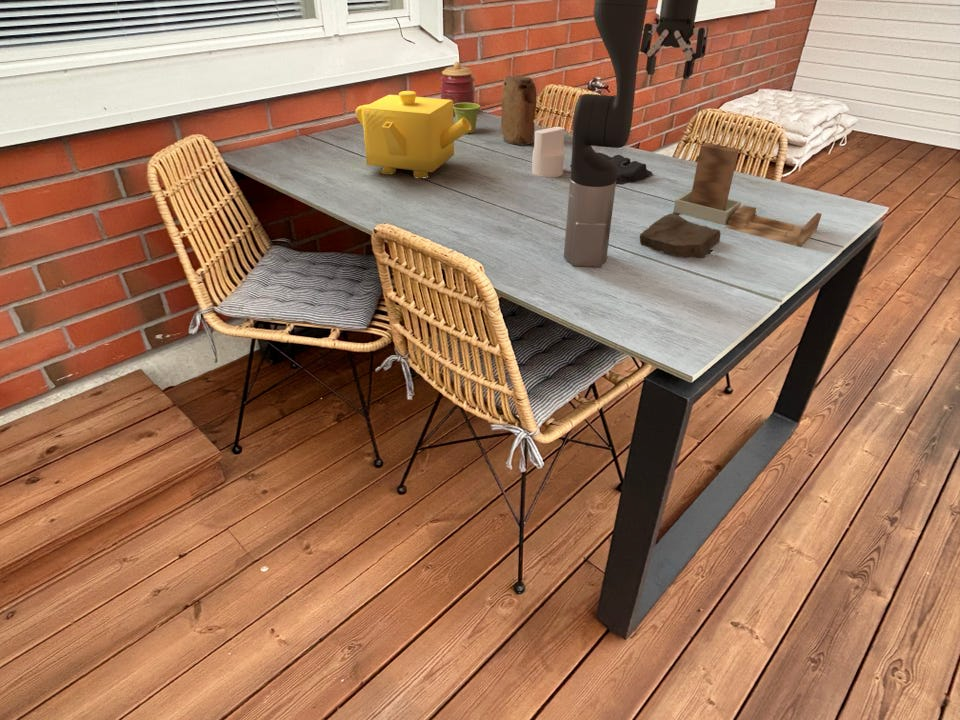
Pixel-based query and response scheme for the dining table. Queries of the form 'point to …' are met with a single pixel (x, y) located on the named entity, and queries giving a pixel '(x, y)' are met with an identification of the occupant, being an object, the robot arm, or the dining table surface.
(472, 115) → the plant pot
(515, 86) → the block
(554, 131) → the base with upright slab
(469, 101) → the canister
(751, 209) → the rack
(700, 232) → the brown irregular slab
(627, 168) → the dark slate chunk
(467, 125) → the cube teapot
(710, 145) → the board
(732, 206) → the tray
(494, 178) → the dining table surface
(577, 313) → the dining table surface
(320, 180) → the dining table surface
